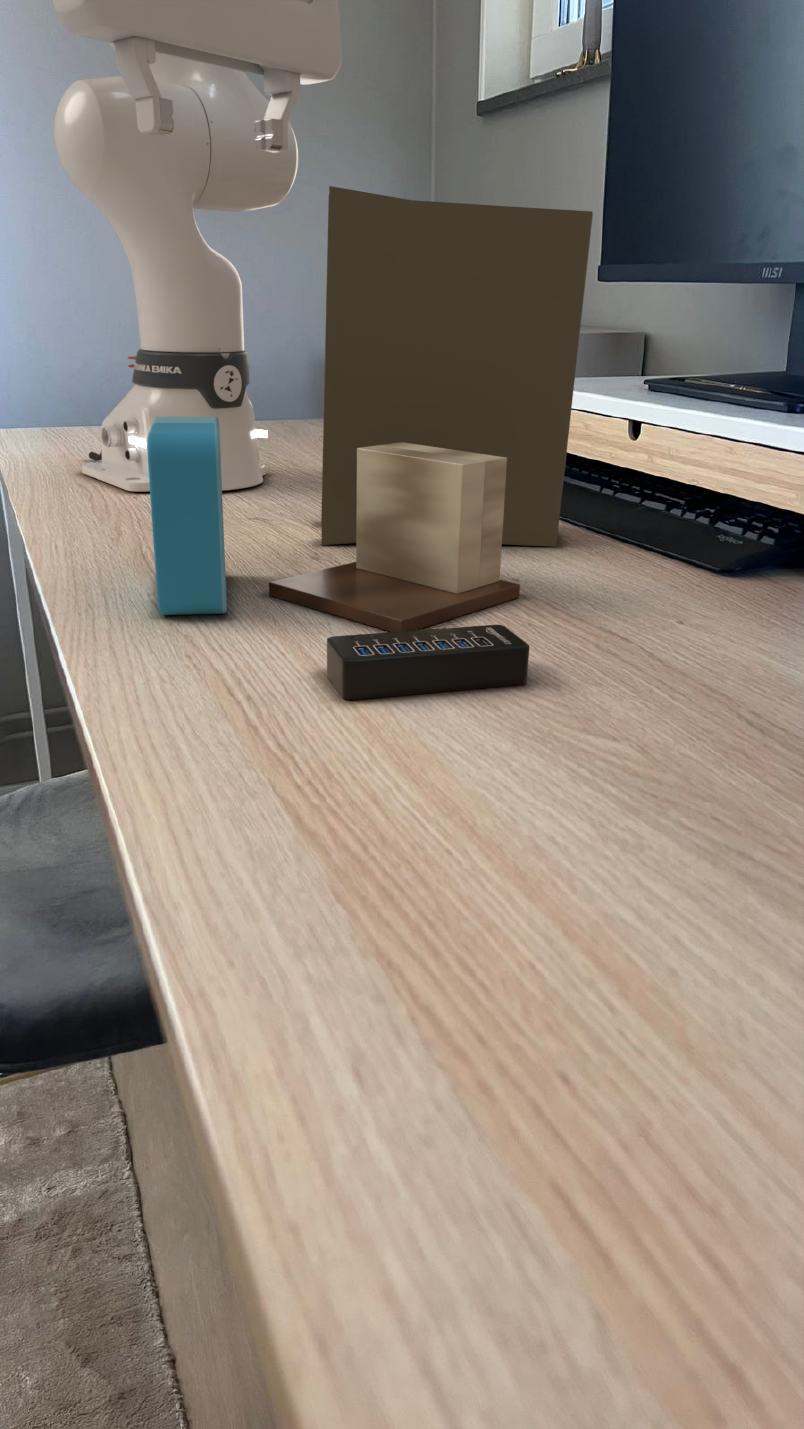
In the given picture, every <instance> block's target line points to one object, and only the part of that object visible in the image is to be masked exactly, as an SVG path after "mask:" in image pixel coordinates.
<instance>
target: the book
mask: <svg viewBox="0 0 804 1429" xmlns="http://www.w3.org/2000/svg"><path fill="white" fill-rule="evenodd" d="M327 205H328V206H327V244H326V245H327V248H326V249H327V250H326V252H327V253H326V289H325V290H326V293H325V294H326V295H325V336H324V337H325V338H324V341H325V342H324V377H323V378H324V381H323V384H324V385H323V424H322V425H323V427H322V465H321V466H322V471H321V511H320V512H321V516H320V517H321V518H320V527H321V532H320V535H321V536H320V538H321V539H320V540H321V541H320V545H321V546H328V545H329V546H330V545H343V544H344V545H345V544H356V528H357V448H361V447H369V446H377V445H385V444H393V443H401V442H404V443H411V444H417V445H424V446H431V447H438V448H445V449H451V450H458V451H465V452H472V453H479V454H486V455H492V456H499V457H506V458H507V466H506V483H505V500H504V516H503V533H502V545H513V546H532V547H535V546H536V547H555V548H556V547H557V541H558V534H559V526H560V516H561V508H562V498H563V489H564V480H565V472H566V471H565V470H566V463H567V462H566V461H567V454H568V444H569V437H570V436H569V434H570V425H571V415H572V407H573V396H574V391H575V381H576V371H577V363H578V354H579V346H580V344H579V343H580V336H581V335H580V334H581V327H582V326H581V325H582V316H583V306H584V300H585V299H584V298H585V290H586V288H585V287H586V280H587V271H588V262H589V253H590V244H591V234H592V226H593V218H594V214H593V213H594V212H593V211H591V210H577V209H576V210H575V209H559V208H558V209H556V208H541V207H528V206H527V207H526V206H525V207H523V206H509V205H508V206H507V205H493V204H492V205H491V204H479V203H478V204H477V203H462V202H448V201H447V202H445V201H429V200H414V199H408V198H400V197H396V196H389V195H383V194H380V193H379V194H378V193H374V192H373V193H372V192H367V191H361V190H355V189H349V188H344V187H337V186H333V185H329V187H328V204H327Z"/></svg>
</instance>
